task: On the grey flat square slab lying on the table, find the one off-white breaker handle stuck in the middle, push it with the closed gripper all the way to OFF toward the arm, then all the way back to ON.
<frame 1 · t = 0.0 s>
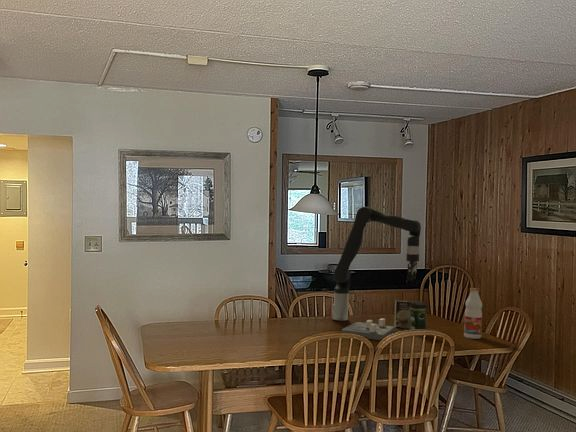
hand: (411, 279, 346), 29 cm above the table, tool pointing down, fingers open, 8 cm apart
grey flat square slab: (368, 333, 327), on the table
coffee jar: (417, 333, 332), on the table
coffee box: (402, 327, 348), on the table
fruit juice: (472, 337, 327), on the table
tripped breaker: (369, 324, 327), point 5 cm above the table, slide at 0.0 cm
breaker near: (372, 327, 317), point 5 cm above the table, slide at 5.0 cm
breaker far: (381, 322, 333), point 5 cm above the table, slide at 5.0 cm
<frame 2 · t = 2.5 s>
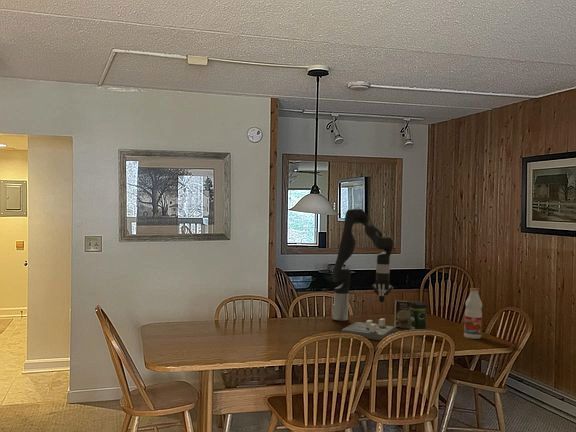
hand: (381, 302, 324), 19 cm above the table, tool pointing down, fingers closed
nothing on the table moved.
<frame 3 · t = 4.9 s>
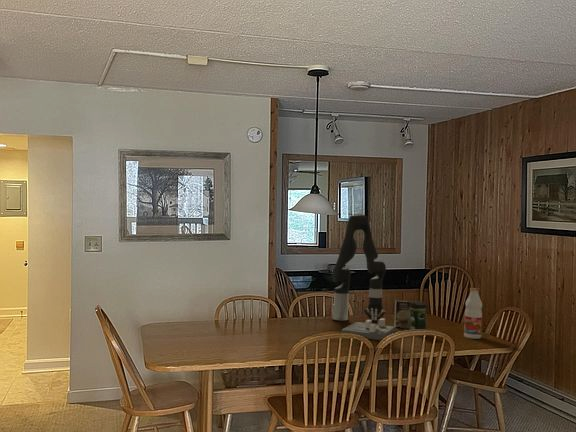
hand: (374, 326, 326), 4 cm above the table, tool pointing down, fingers closed
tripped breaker: (368, 324, 327), point 5 cm above the table, slide at -0.4 cm, touching gripper
everything else where it was.
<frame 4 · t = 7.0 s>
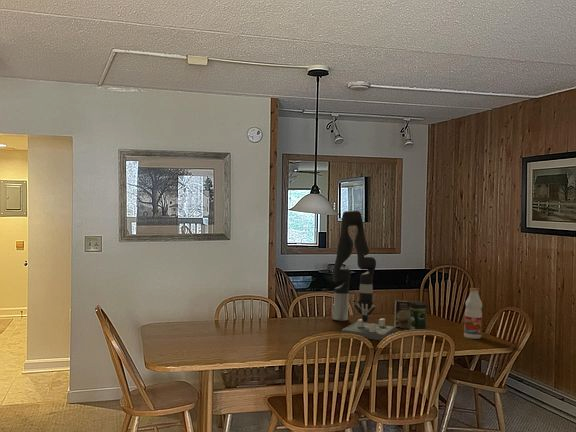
hand: (365, 321, 328), 6 cm above the table, tool pointing down, fingers closed
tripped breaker: (360, 323, 329), point 5 cm above the table, slide at -5.1 cm
everything else where it was.
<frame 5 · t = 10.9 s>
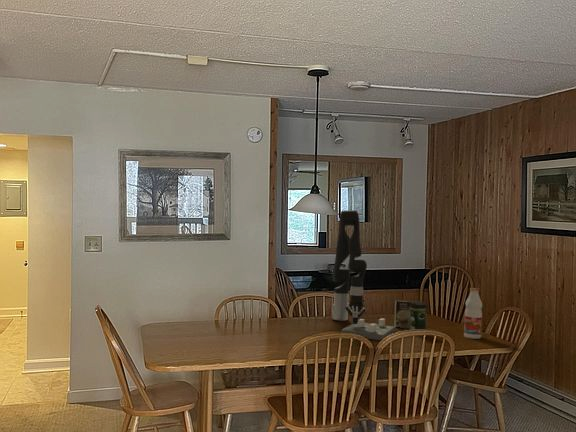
hand: (355, 323, 330), 5 cm above the table, tool pointing down, fingers closed
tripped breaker: (361, 323, 329), point 5 cm above the table, slide at -4.8 cm, touching gripper
everything else where it was.
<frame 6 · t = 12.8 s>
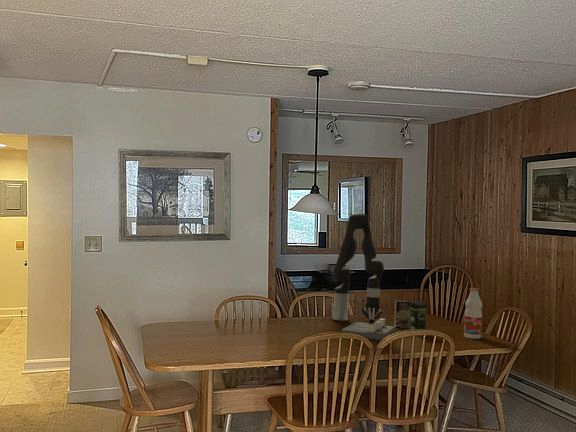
hand: (371, 325, 326), 5 cm above the table, tool pointing down, fingers closed
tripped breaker: (377, 325, 325), point 5 cm above the table, slide at 5.1 cm, touching gripper
everything else where it was.
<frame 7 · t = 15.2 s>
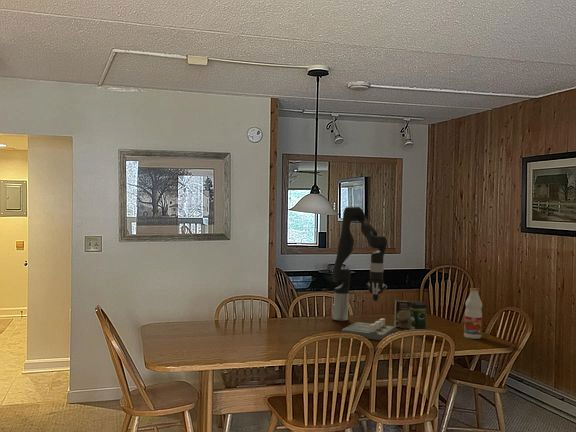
hand: (375, 300, 326), 19 cm above the table, tool pointing down, fingers closed
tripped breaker: (377, 325, 325), point 5 cm above the table, slide at 5.1 cm
everything else where it was.
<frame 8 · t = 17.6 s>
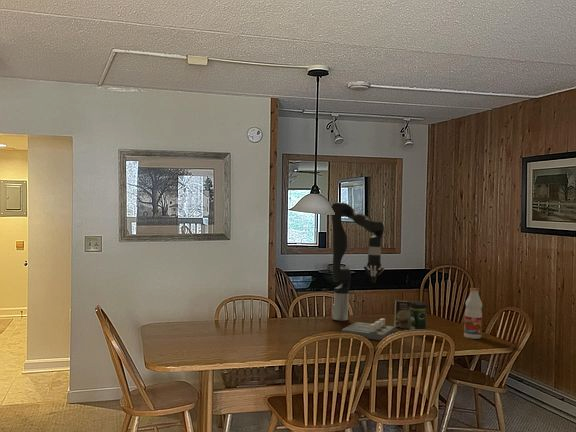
hand: (373, 282, 346), 27 cm above the table, tool pointing down, fingers closed
nothing on the table moved.
at the end: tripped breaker slide at 5.1 cm; breaker near slide at 5.0 cm; breaker far slide at 5.0 cm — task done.
